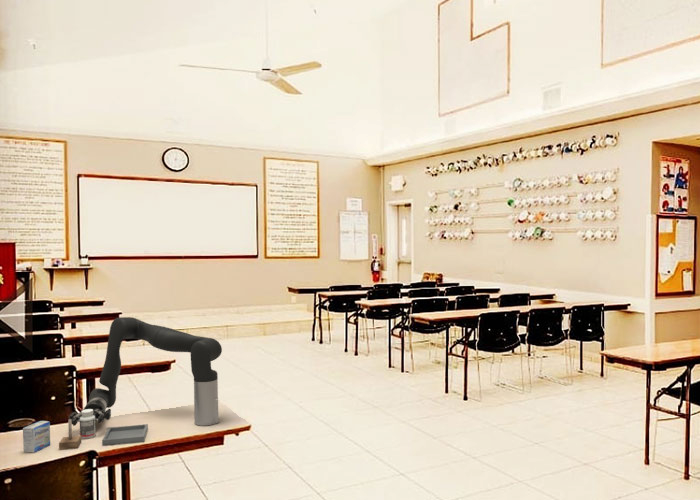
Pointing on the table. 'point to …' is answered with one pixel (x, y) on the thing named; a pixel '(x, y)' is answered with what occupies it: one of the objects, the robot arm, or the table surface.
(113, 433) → the tray
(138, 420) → the table surface
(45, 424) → the medicine box
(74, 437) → the stand
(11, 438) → the table surface
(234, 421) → the table surface
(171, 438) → the table surface
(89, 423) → the pill bottle
